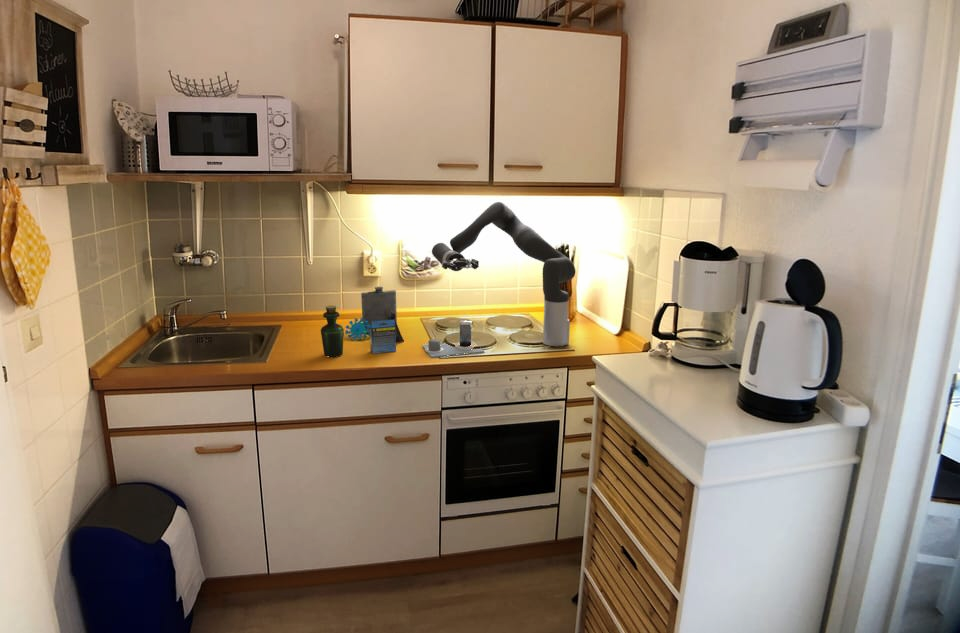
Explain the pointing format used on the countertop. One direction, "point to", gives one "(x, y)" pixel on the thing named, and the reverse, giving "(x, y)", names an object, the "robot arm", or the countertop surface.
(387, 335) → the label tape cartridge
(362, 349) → the countertop surface
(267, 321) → the countertop surface
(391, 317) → the door stopper
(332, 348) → the potion bottle
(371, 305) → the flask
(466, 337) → the steel pin
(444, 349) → the plate
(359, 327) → the blue virus model
